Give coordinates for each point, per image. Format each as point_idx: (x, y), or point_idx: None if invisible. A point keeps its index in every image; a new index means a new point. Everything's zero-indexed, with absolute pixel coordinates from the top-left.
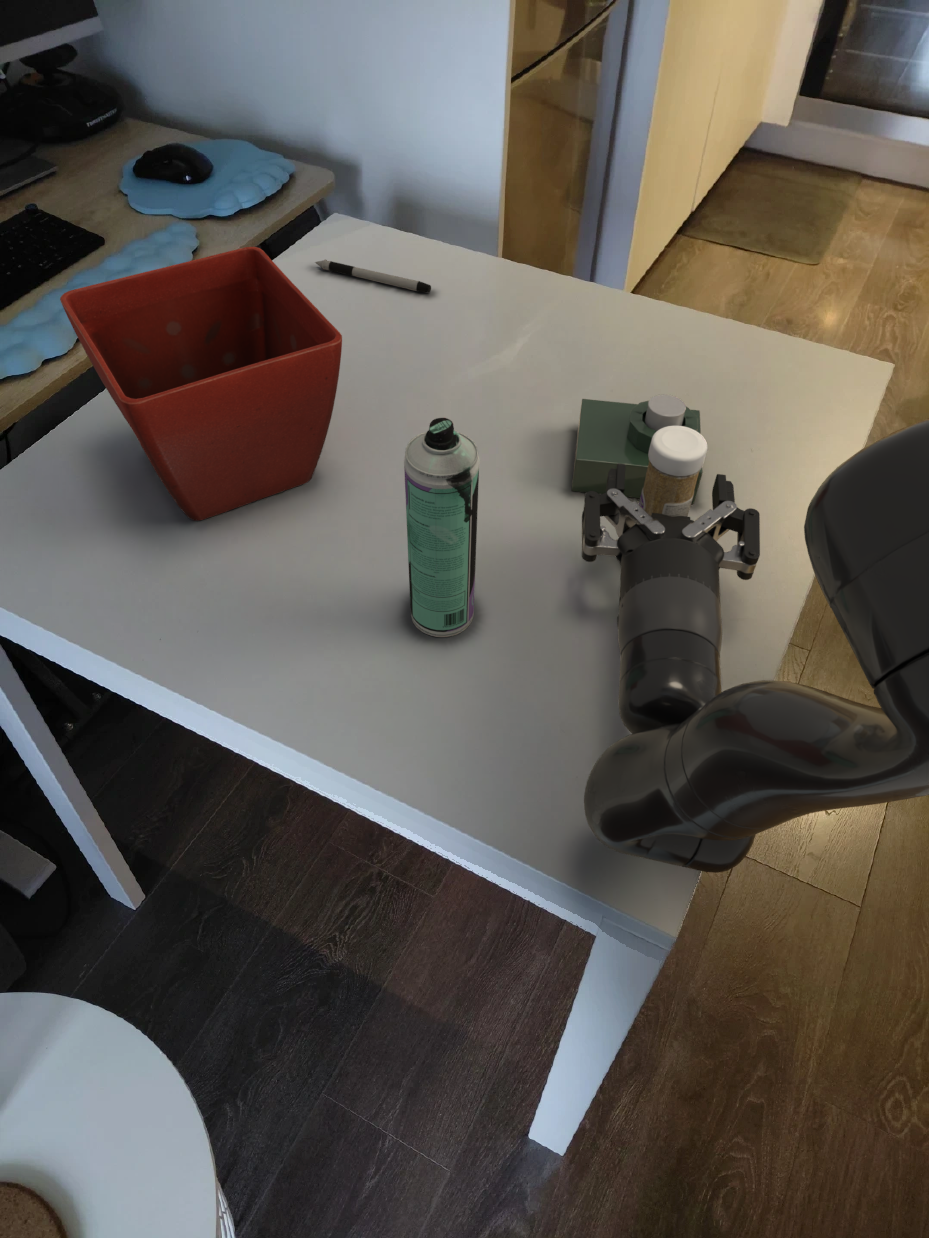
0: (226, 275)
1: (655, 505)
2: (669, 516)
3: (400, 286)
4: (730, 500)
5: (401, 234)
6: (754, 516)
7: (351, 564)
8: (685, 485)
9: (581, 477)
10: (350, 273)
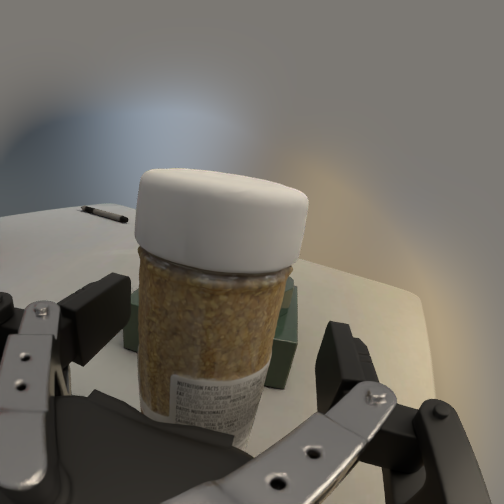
0: None
1: (152, 375)
2: (147, 419)
3: (112, 218)
4: (368, 380)
5: (135, 209)
6: (449, 422)
7: None
8: (232, 318)
9: (131, 330)
10: (92, 211)
